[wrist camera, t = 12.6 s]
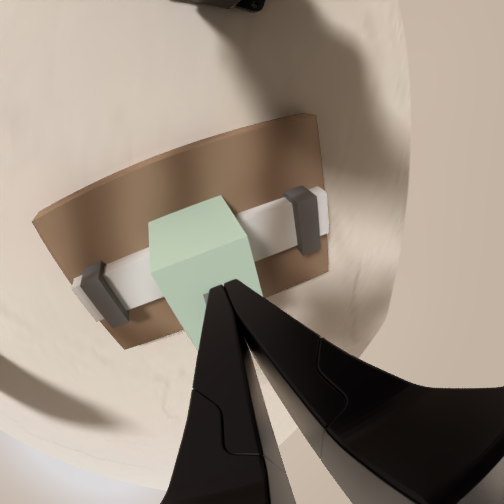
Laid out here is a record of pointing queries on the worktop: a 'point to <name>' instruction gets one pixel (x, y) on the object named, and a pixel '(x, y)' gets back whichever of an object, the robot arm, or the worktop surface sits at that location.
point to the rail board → (182, 196)
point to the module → (198, 258)
